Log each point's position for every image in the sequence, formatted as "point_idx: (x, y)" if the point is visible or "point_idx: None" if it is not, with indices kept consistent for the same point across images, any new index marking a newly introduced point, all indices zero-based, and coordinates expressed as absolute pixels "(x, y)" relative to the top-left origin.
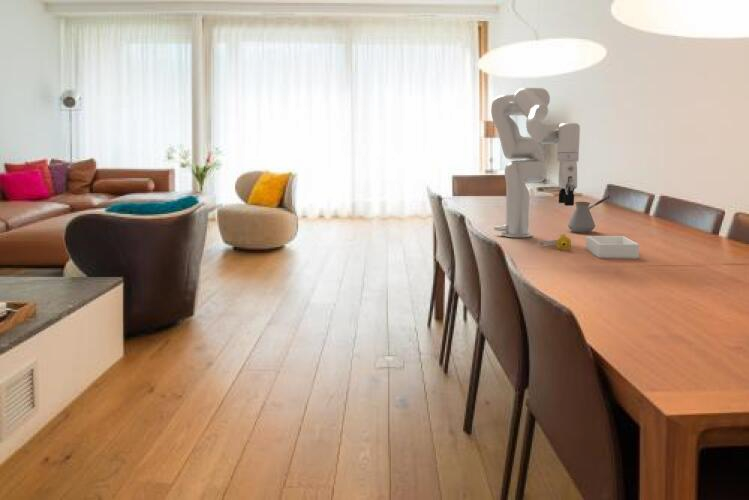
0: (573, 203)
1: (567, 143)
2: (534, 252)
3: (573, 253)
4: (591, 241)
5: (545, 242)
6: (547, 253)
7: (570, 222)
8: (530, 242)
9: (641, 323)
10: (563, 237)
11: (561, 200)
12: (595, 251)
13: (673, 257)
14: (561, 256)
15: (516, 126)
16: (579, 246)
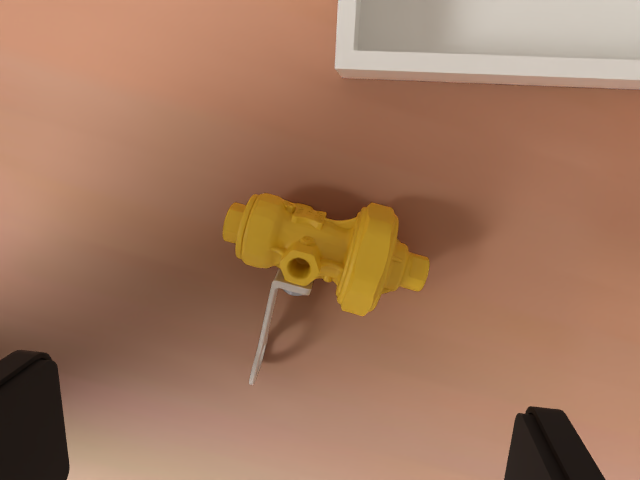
0: (569, 432)
1: None
2: (446, 436)
3: (501, 215)
4: (517, 77)
5: (263, 344)
6: (484, 375)
7: None
8: (115, 373)
9: None
10: (384, 283)
11: (39, 477)
12: (635, 86)
13: None
14: (594, 321)
15: None
16: (239, 93)
